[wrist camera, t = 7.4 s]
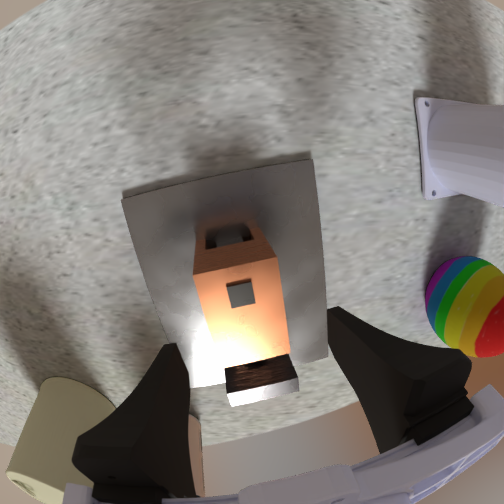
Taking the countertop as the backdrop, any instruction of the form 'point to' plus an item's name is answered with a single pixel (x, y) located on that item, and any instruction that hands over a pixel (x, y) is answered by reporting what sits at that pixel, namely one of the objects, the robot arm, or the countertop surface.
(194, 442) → the beer can
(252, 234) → the orange block
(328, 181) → the countertop surface
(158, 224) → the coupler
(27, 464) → the can
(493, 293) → the decorative egg
